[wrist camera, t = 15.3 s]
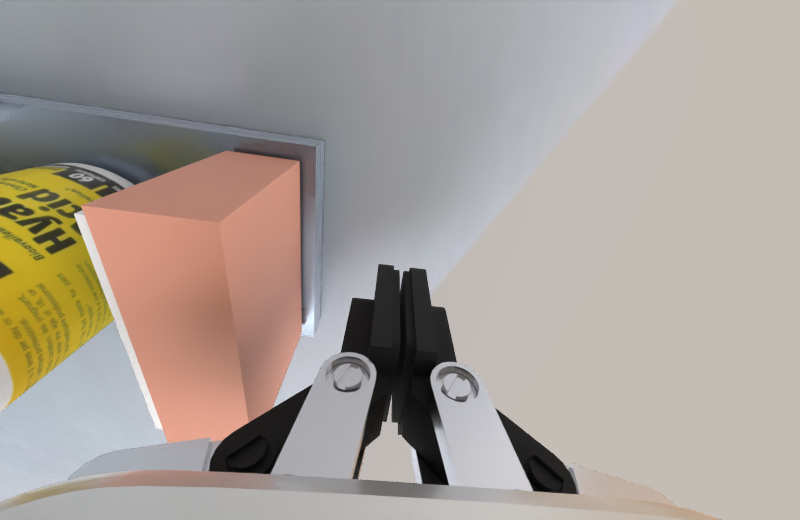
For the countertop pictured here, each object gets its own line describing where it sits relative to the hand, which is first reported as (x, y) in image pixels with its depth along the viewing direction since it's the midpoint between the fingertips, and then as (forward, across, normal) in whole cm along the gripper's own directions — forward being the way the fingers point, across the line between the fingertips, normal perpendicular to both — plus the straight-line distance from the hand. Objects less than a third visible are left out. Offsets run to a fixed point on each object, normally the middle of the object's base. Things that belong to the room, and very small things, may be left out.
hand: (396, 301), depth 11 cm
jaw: (+2, +6, 0) cm, 6 cm away
